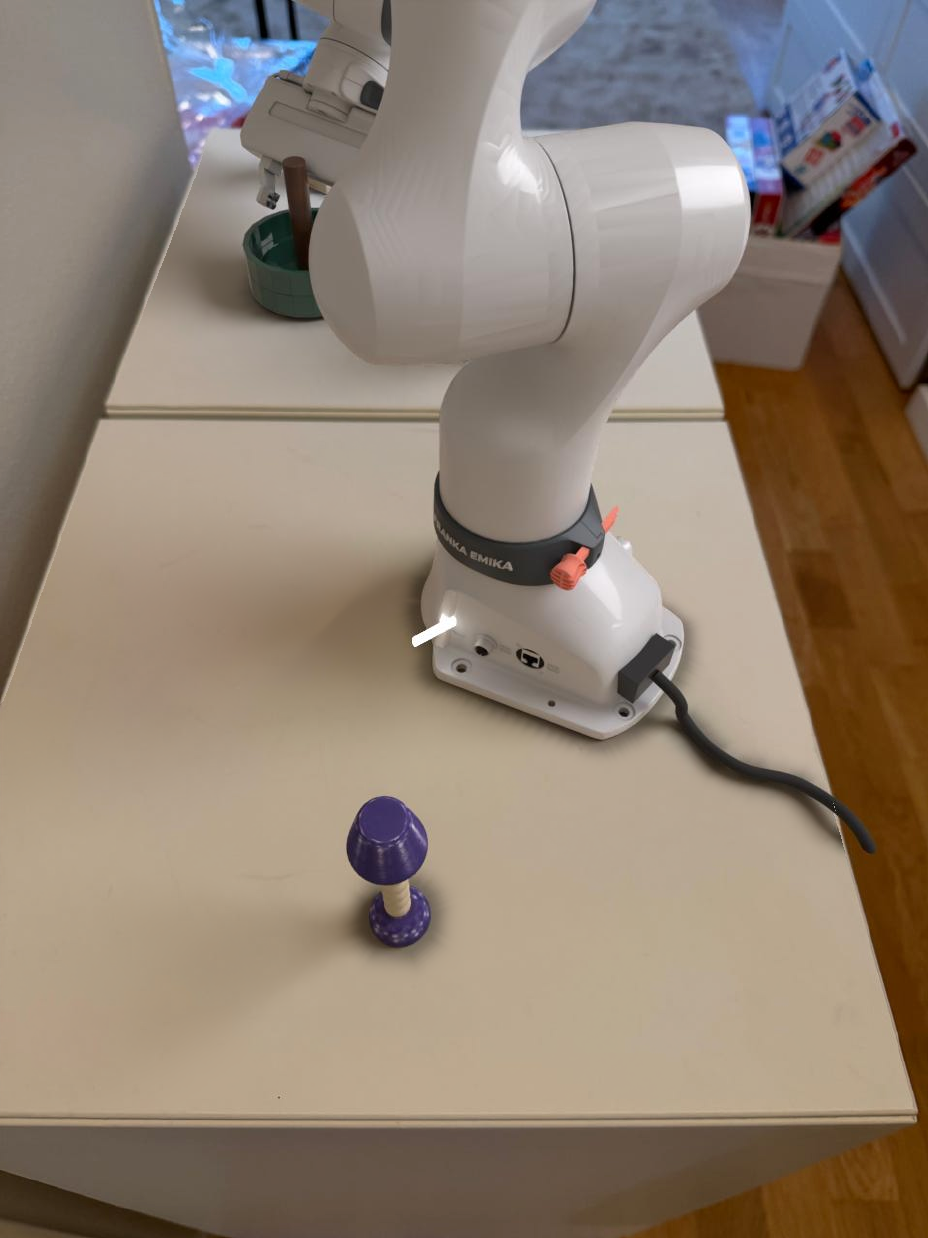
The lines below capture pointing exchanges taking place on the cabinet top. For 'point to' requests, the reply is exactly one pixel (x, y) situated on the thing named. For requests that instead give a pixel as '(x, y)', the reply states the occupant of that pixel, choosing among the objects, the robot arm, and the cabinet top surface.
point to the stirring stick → (299, 208)
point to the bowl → (278, 267)
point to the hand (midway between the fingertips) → (297, 219)
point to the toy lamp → (391, 868)
